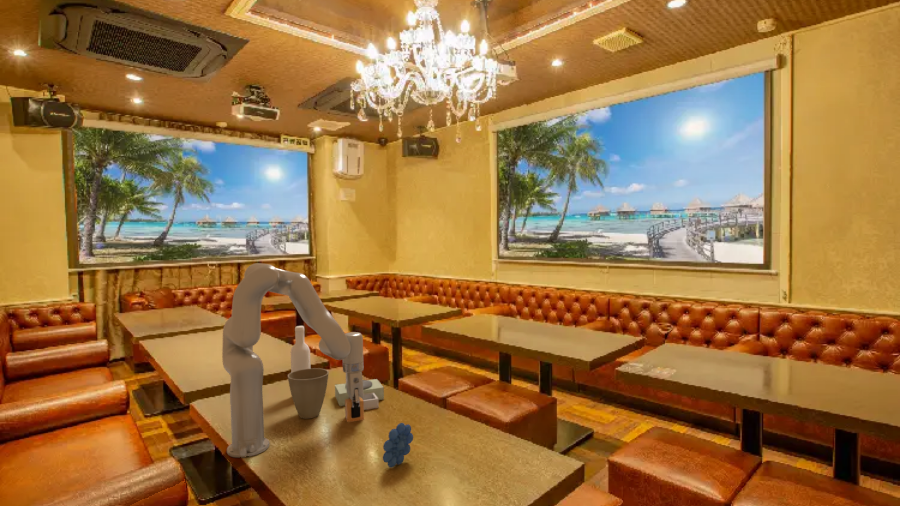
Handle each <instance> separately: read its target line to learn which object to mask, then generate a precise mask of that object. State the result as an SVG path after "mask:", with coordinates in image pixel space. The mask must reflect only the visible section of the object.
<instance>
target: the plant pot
mask: <svg viewBox="0 0 900 506" xmlns="http://www.w3.org/2000/svg"><path fill="white" fill-rule="evenodd" d="M287 380H288V387H289V391H290V394H291V398H292V401H293V404H294V407H295V409H296V412H297V415H298V416H299V418H301V419H306V420H308V419H312V418H317V417H318V416H319V415H320V414H321V411H322V407H323V404H324V400H325V397H326V394H327V393H326V392H327V388H328V381H329V370H328V369H325V368H320V367H318V368H316V367H314V368H311V369H302V370H298V371H294V372H289V373H288V374H287Z"/></svg>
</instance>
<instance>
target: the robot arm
mask: <svg viewBox="0 0 900 506" xmlns="http://www.w3.org/2000/svg"><path fill="white" fill-rule="evenodd" d="M243 275H244V276H243V278H242V279H241V281H239V283H238V285H237V287H236V288H235V290H234V293H233V297H232V306H231V316H230V317H229V318H228V319H227V320H226V322H225V324H224V325H223V329H222V349H221V351H222V354H221V355H222V365H223V368H224V370H225V372H227V374H228V375H230V385H229V386H230V387H229V388H230V389H229V404H230V426H231V444H229V445H228V446H227V448H226V453H227V455H228V456H230V457H232V458H239V459H240V457H241V458H246V457H245V456H249V457H253V456H257V455H259V454H261V453H263V452H265V451H266V450H267V449H268V448H269V447H270V440H269V439H268V438H266V437H265V426H264V425H265V422H264V419H265V418H264V400H263V399H264V398H263V397H264V396H263V384H264V383H263V381H264V380H263V379H264V368H265V367H264V363H263V360H262V358H261V357H260V356H259V354H257V353H255V352H254V349H253V347H254V346H255V345H256V344H257V343H258V342H259V340H260V338H261V334H262V331H261V329H262V326H261V325H262V321H261V320H262V319H261V317H262V312H261V311H262V302H263V299H264V297H265V295H266V294H267V293H268V292H269V293H275V294H279V295H284V296H288V298H289V299H290V301H291V303H292V304H293V306H294V307H295V309H296V310H297V312H298V314H299V316H300V318H301V319H302V321H303V322H304V323H305V324H306V325H307V326H308V327H309V328H311V329H312V330H313V331H315V332H316V334H317V335H318V336H319V337H320V340H319V342H318V348H319V350H320V352H321V353H322V354H323V355H325V356H327V357H330V358H332V359H334V360H338V361H341V360H342V372H343V373H345V383H346V391H347V394H348V396H349V399H351V400H352V407H351V417H352V418H357V417H360V399H359V396H360V397H361V398H363V397H364V393H363V380H364V379H363V373H362V372H363V371H364V366H365V365H364V340H363V339H364V336H363V334H362V333H361V332H358V331H357V332H356V331H351V332H344V330H343V328H342V327H341V325H340V324H339V322H338V321H337V320H336V319H335V317H333V315H332V314H331V313H330V311H329V310H328V309H327V308H326V306H325V305H324V303H323V302H322V300H321V298H320V296H319V294H318V293H317V291H316V289H315V287H314V286H313V284H312V282H311V280H310V278H308V276H306V275H305V274H304V273H302V272H301V273H300V272H294V271H289V270H284V269H280V268H277V267H275V266H274V265H272V264H268V263H262V262H257V263H253V264H250V265H249V266H248V267H246V269H245V270H244V274H243ZM353 400H355V402H354V401H353Z"/></svg>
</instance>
